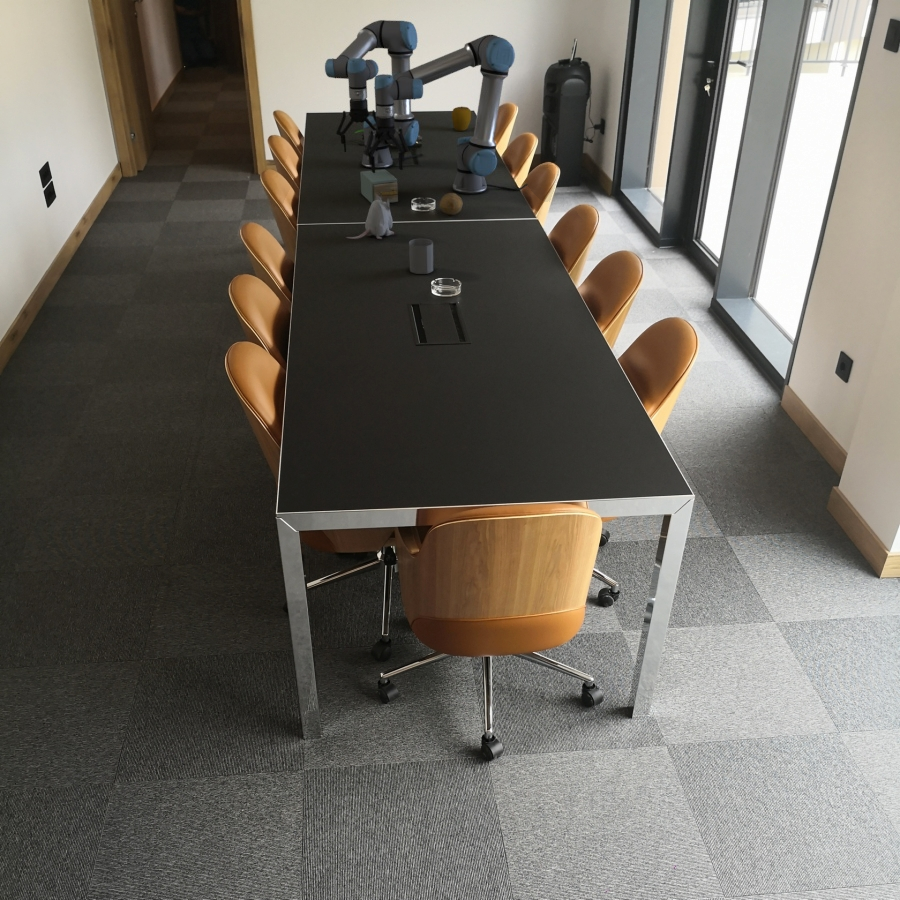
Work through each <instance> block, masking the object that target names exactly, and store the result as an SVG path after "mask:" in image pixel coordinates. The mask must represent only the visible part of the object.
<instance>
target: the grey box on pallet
mask: <svg viewBox="0 0 900 900" xmlns="http://www.w3.org/2000/svg"><path fill="white" fill-rule="evenodd" d="M359 174H360V191H361V195H362V196H363V197H364V198H365V199H366V200H367V201H368V202H369V203H370V204H372V202H373V201H374V184H380V183H390V182H393V183H394V182H397V183H398V179H397V178H396V177H395V176H394V175H393V174H391V173H390V171H388V170H386V168H382V169H375V173H373V172H372V171H371V170H363V171H360V172H359ZM397 202H399V200H398V201H391V202H389V204H390V203H397ZM386 203H387V202H386Z"/></svg>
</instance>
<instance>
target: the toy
mask: <svg viewBox="0 0 900 900" xmlns="http://www.w3.org/2000/svg"><path fill="white" fill-rule="evenodd" d="M393 221H394V220H393V217H392V213H391V208H390V203H389V200H387V203H386V202H382V200H381V198H380V197H379V196H378V195H376V200H375V201H373V202H372V203H370V206H369V209H368V213H367V216H366V220H365V223H364V228H365V231H363V232H362V233H361V234H359V235H356V236H346V237H345V238H346V239H351V240H358V239H361V238H363V237H365V236H367V237H368V236H369V237H371V236H375V237H376V239H377V240H383V236H385V237H388V236H392V235H394V234H395V232H394V231H392V228H393V225H394V224H393V223H394V222H393Z"/></svg>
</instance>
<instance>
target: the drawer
mask: <svg viewBox="0 0 900 900" xmlns="http://www.w3.org/2000/svg"><path fill="white" fill-rule="evenodd" d="M376 195H378V196H379V197H380V198H381V200H382V202H387V200H389V202H391V201H398V202H399V190H398V181H397V182H394V183H393V182H390V183H380V184H374V201H375V200H376ZM391 203H392V202H391Z"/></svg>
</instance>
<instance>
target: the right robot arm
mask: <svg viewBox="0 0 900 900" xmlns="http://www.w3.org/2000/svg"><path fill="white" fill-rule="evenodd" d="M515 59H516V53H515V49H514V47H513V45H512V43H511V42H509V40H507V39H506V38H503V37H501V36H498V35H495V34H486V35H483V36H481V37H477V38H476V39H473V40H472V41H469V42H466V43H465V44H464V46H463V47H462V48H459V49H456V50H454V51H452V52H450V53H447V54H443V55H442V56H439V57H437V58H435V59H433V60H430V61H427V62H425V63H422V64H420V65H418V66H416V67H412V68H410V70H408V71H405V72H403V73H395V74H393V75H392V74H384V73H382V74H377V75H376V77H374V86H373V87H374V88H373V89H374V103H375V104H374V105H375V106H374V107H375V114H376V116H377V117H376V130H374V131H371V130H369V137H368V141H367V144H366V147H365V146H364V151H363V155H364V154H365V155H366V156H369V164H370V165H371V168H370V169H371V170H370V171H372V172H373V173H375V170H376V169H375V158H374V156H373V154H374V152H375V151H376V149H377V147H378V145H379V144H380V142H381V141H382V140H383V141H385V140H390V139H391V140H392V141H393V142H394V144H395V145H394V146H395V147H396V148H397V149H398V151H399V152H398V158H399V160H398V169H399V170H400V171H403V170H404V168H403V165H404V164H403V162H405V160H406V159H404V157H405V154H406V153H408V152H409V151H410V149H409V146H407V144H406V142H405V139H404V137H403V133H402V129H401V128H400V127H399V128H397V129H395V122H394V116H393V115H394V100H408V99H411V100H420V99H422V98H423V96H424V86H425V85H428V84H429V83H432V82H434V81H436V80H439V79H442V78H444V77H447V76H449V75H451V74H454V73H457V72H459V71H461V70H464V69H466V68H469V67H471V68H477V67H478V66H480V69H479V73H480V74H481V76H482V80H481V86H480V93H479V100H478V106H477V113H476V119H475V126H474V132H473V136H472V135H471V136H463V137H462V136H461V137H459V138H458V139H457V141H456V142H457V144H456V153H457V154H456V176H455V178H454V181H453V184H452V190H453V191H454V192H455V193H456V194H462V195H479V194H483V193H485V192H486V191H487V190H488V187H492V188H497V189H501V190H508V191H521V190H523V189H525V187H527V186H528V183H526V184H524V185H522V186H521V187H518V188H511V187H505V186H500V185H495V184H489V183H487V181H486V177H487V176H489V175H491V174H493V172H494V171H495V169H496V168H497V166H498V165H497V164H498V158H497V155H496V150H497V143H496V142H495V134H496V126H497V121H498V114H499V109H500V103H501V97H502V91H503V84H504V80H505V79H506V78H507V77H508V76H509V71H510V69H511V68H512V67H513V64H514V62H515ZM395 132H397V134H398V135H399V138H400V140H401V143H402V145H403V146H402V145H400V144H399V143H398V142H397V140H396V139H395V137H394V134H395ZM375 134H377V135H378V136H377V138H376V141H375V142H374V144H373V146H372V148H371V149H370V147H371V144H372V141H373V136H375Z"/></svg>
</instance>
